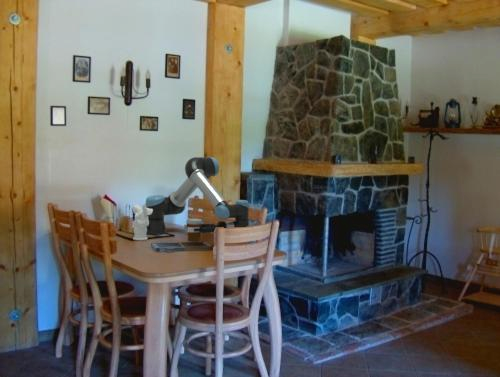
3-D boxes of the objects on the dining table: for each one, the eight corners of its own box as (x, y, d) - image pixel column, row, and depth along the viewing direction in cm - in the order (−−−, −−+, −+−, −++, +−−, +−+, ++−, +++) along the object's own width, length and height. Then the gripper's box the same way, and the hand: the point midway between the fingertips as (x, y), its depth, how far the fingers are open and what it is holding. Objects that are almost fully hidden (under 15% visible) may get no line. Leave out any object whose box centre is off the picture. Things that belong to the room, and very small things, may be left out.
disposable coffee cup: (182, 240, 321) (182, 219, 320) (191, 238, 330) (192, 217, 329) (196, 243, 317) (197, 221, 316) (205, 240, 325) (206, 219, 324)
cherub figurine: (129, 238, 346) (129, 201, 345) (148, 236, 354) (148, 201, 352) (138, 241, 337) (139, 203, 335) (157, 239, 344) (158, 202, 342)
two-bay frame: (150, 245, 326) (150, 242, 326) (204, 243, 336) (204, 240, 336) (156, 252, 307) (156, 249, 307) (212, 250, 317) (213, 247, 317)
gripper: (230, 237, 319) (190, 238, 312) (219, 230, 339) (181, 231, 332) (230, 224, 318) (190, 224, 311) (220, 218, 338) (182, 218, 331)
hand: (186, 228), depth 321 cm, fingers closed on disposable coffee cup, 8 cm apart
